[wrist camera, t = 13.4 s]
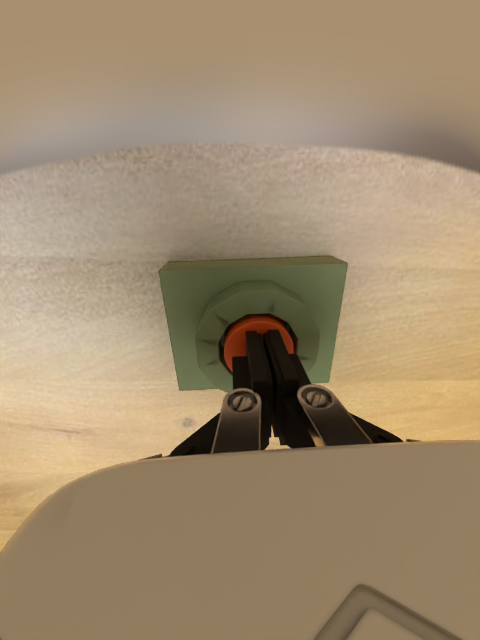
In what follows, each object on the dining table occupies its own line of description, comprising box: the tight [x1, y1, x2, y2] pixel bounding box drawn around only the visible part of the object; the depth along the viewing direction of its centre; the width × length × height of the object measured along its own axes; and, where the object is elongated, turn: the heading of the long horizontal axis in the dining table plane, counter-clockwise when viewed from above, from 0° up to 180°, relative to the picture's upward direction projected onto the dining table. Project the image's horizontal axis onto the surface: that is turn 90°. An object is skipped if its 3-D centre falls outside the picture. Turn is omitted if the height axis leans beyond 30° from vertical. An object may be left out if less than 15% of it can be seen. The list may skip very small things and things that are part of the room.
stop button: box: [224, 313, 293, 371], centre depth 13 cm, size 4×4×2 cm
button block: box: [159, 256, 348, 392], centre depth 14 cm, size 10×8×4 cm
